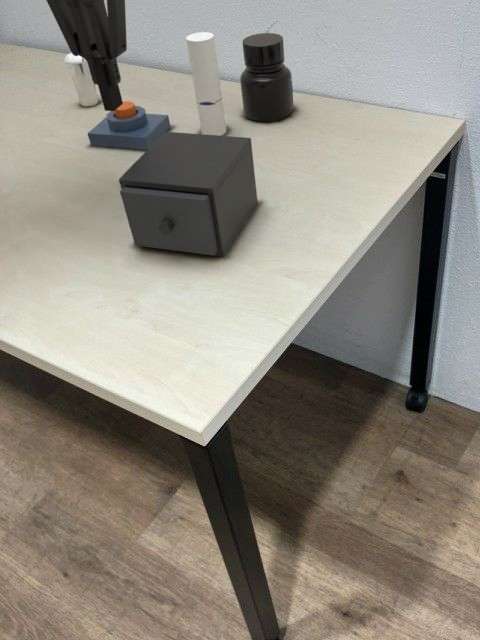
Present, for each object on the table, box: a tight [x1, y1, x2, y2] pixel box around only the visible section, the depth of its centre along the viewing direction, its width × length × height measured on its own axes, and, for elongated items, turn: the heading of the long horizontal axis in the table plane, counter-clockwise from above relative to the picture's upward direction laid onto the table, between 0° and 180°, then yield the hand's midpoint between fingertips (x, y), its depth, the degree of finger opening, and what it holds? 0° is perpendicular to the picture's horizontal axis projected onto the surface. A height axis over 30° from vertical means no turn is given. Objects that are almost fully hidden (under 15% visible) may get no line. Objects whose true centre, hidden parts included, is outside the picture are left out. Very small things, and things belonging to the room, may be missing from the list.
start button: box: [114, 100, 137, 119], centre depth 103 cm, size 4×4×2 cm
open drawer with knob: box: [119, 187, 218, 257], centre depth 79 cm, size 14×11×8 cm
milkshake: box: [64, 52, 99, 107], centre depth 114 cm, size 5×5×10 cm
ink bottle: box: [239, 32, 294, 122], centre depth 105 cm, size 10×9×12 cm
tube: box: [185, 31, 227, 136], centre depth 100 cm, size 4×4×15 cm
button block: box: [87, 105, 171, 151], centre depth 105 cm, size 11×9×4 cm
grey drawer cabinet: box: [118, 131, 259, 257], centre depth 81 cm, size 14×13×10 cm
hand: (114, 106), depth 89 cm, fingers closed
